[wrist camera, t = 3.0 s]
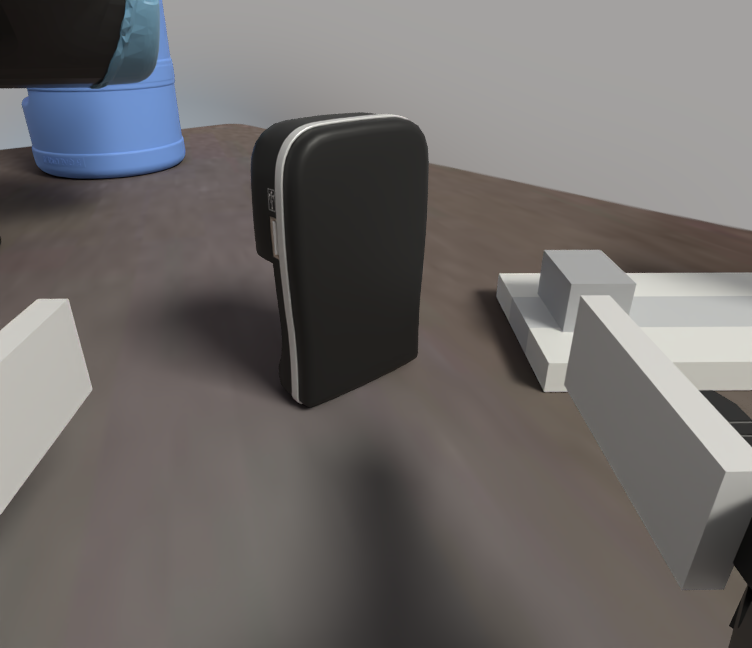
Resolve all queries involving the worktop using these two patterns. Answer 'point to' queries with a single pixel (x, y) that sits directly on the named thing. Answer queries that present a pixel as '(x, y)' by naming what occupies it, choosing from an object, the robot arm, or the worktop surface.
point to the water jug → (108, 125)
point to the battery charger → (342, 245)
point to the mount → (634, 316)
